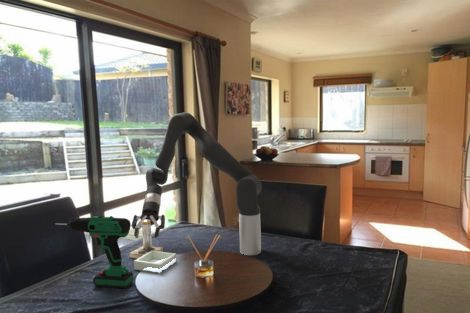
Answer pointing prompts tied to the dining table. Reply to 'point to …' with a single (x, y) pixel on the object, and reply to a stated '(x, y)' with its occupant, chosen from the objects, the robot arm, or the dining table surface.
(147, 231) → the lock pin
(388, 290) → the dining table surface
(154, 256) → the tray
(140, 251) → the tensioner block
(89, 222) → the power drill
